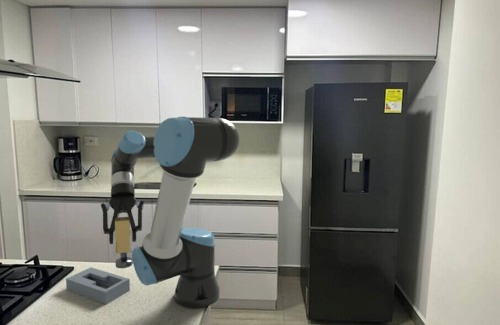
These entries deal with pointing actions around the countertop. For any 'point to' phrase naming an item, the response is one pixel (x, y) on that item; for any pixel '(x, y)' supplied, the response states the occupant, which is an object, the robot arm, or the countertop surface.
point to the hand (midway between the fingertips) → (123, 252)
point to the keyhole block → (87, 286)
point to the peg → (123, 242)
